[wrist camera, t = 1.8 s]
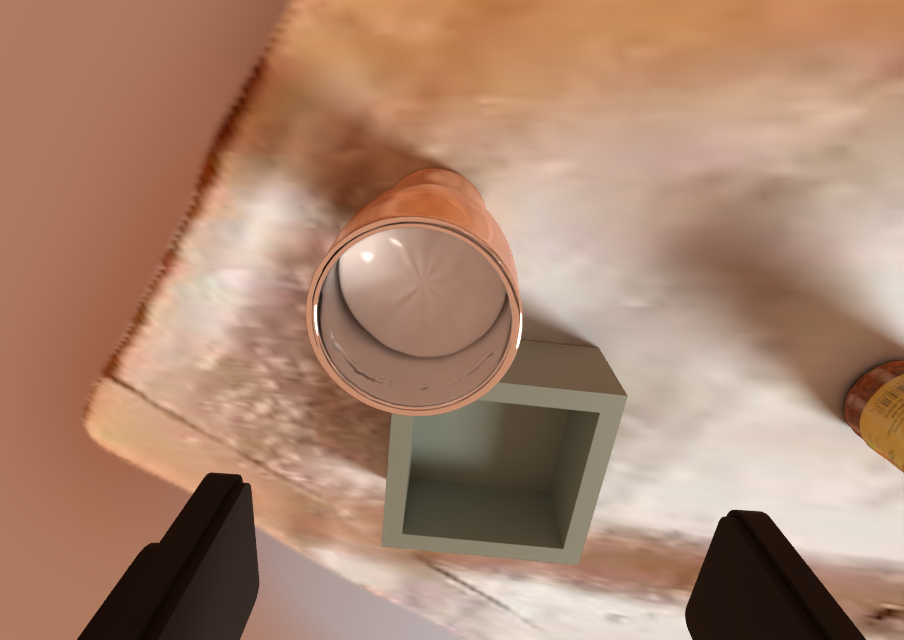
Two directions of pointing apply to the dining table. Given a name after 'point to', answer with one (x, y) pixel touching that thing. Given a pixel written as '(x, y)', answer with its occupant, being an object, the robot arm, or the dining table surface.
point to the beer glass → (417, 299)
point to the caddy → (508, 461)
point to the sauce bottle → (879, 410)
